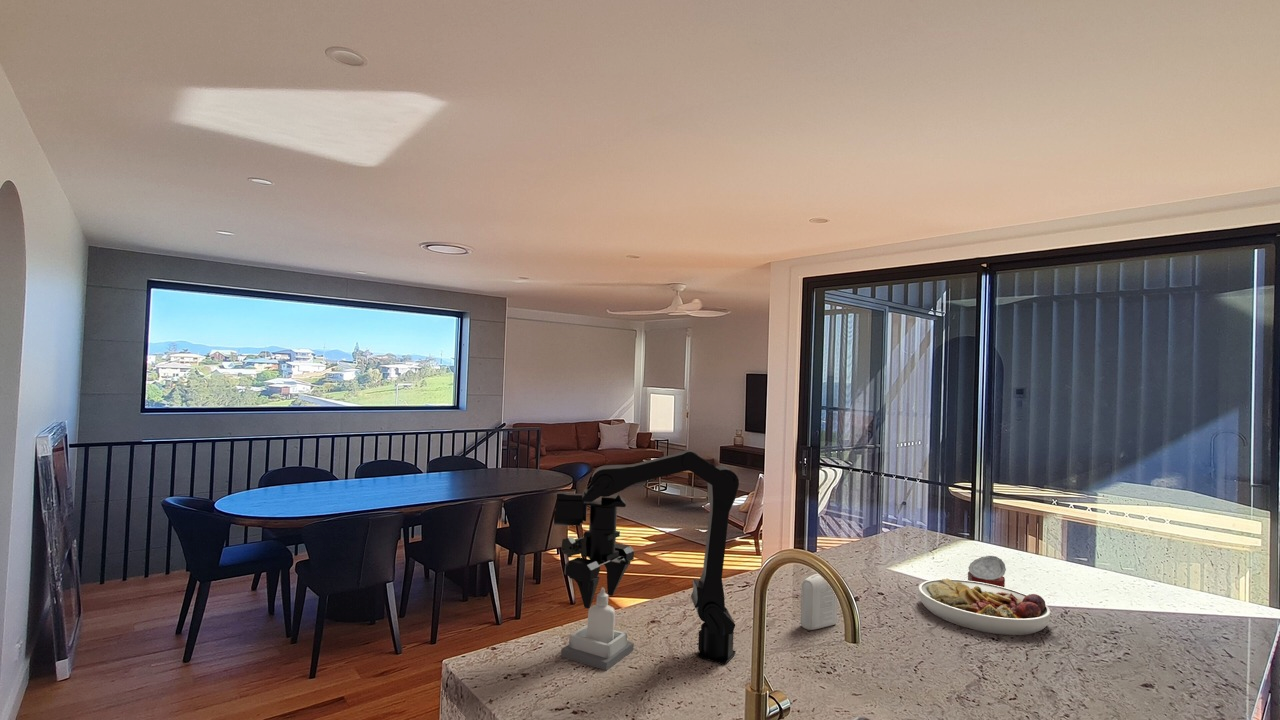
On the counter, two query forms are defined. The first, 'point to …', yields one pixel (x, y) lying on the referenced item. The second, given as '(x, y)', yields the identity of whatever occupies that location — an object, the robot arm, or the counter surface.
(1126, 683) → the counter surface
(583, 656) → the grey square bottle holder
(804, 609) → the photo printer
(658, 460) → the robot arm
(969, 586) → the bowl
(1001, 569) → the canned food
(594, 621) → the eye dropper bottle
